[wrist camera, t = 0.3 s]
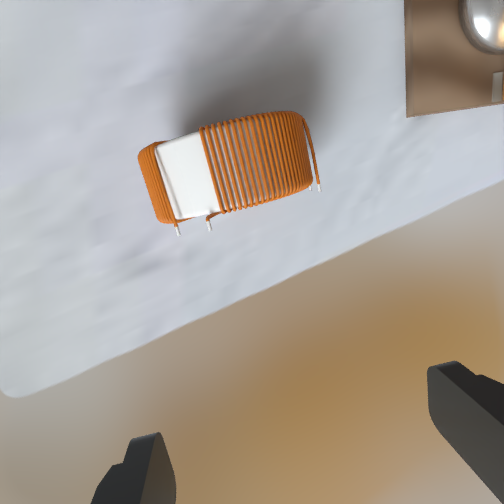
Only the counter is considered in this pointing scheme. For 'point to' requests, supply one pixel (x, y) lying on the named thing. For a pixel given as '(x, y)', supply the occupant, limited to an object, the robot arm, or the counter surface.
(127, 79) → the counter surface
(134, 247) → the counter surface
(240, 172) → the coil
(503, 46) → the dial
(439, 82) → the board
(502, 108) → the counter surface
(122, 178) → the counter surface
